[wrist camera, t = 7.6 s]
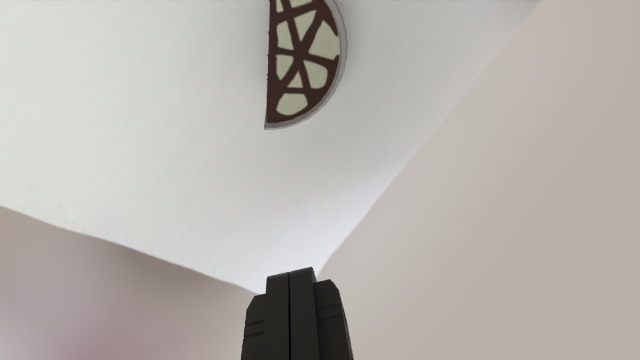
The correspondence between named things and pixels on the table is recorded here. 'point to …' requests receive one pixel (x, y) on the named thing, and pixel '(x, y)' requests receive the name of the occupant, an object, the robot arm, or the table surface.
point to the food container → (303, 59)
